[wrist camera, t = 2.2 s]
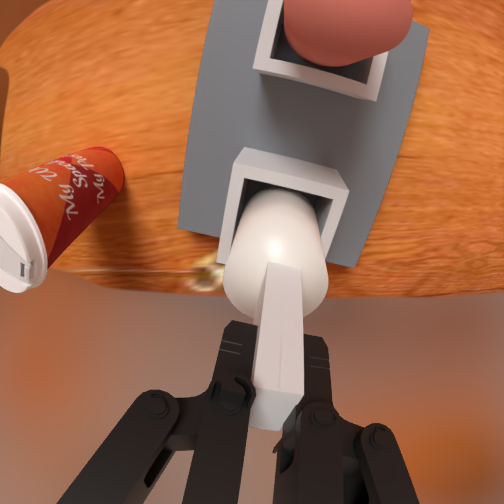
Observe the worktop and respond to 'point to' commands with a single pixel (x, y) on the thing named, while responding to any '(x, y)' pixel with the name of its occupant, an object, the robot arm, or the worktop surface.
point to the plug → (276, 248)
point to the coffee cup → (52, 212)
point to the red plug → (345, 29)
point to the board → (293, 128)
